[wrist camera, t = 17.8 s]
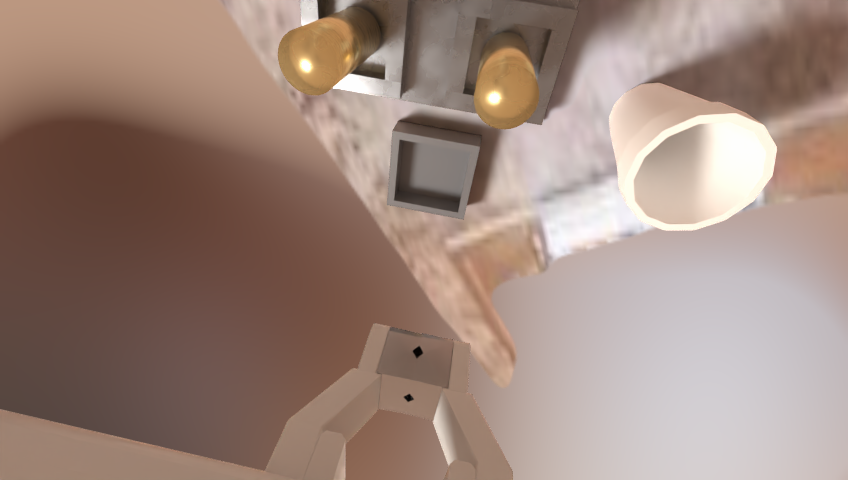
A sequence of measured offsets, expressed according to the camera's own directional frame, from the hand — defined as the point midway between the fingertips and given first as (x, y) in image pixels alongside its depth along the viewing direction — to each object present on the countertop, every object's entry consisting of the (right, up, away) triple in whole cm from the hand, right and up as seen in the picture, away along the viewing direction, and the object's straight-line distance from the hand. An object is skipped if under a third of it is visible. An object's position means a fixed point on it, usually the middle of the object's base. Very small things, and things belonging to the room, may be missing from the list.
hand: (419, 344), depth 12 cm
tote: (+1, +12, +33) cm, 35 cm away
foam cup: (+22, +16, +26) cm, 38 cm away
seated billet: (+8, +20, +24) cm, 32 cm away
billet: (-6, +23, +25) cm, 34 cm away
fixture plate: (+1, +22, +25) cm, 33 cm away
